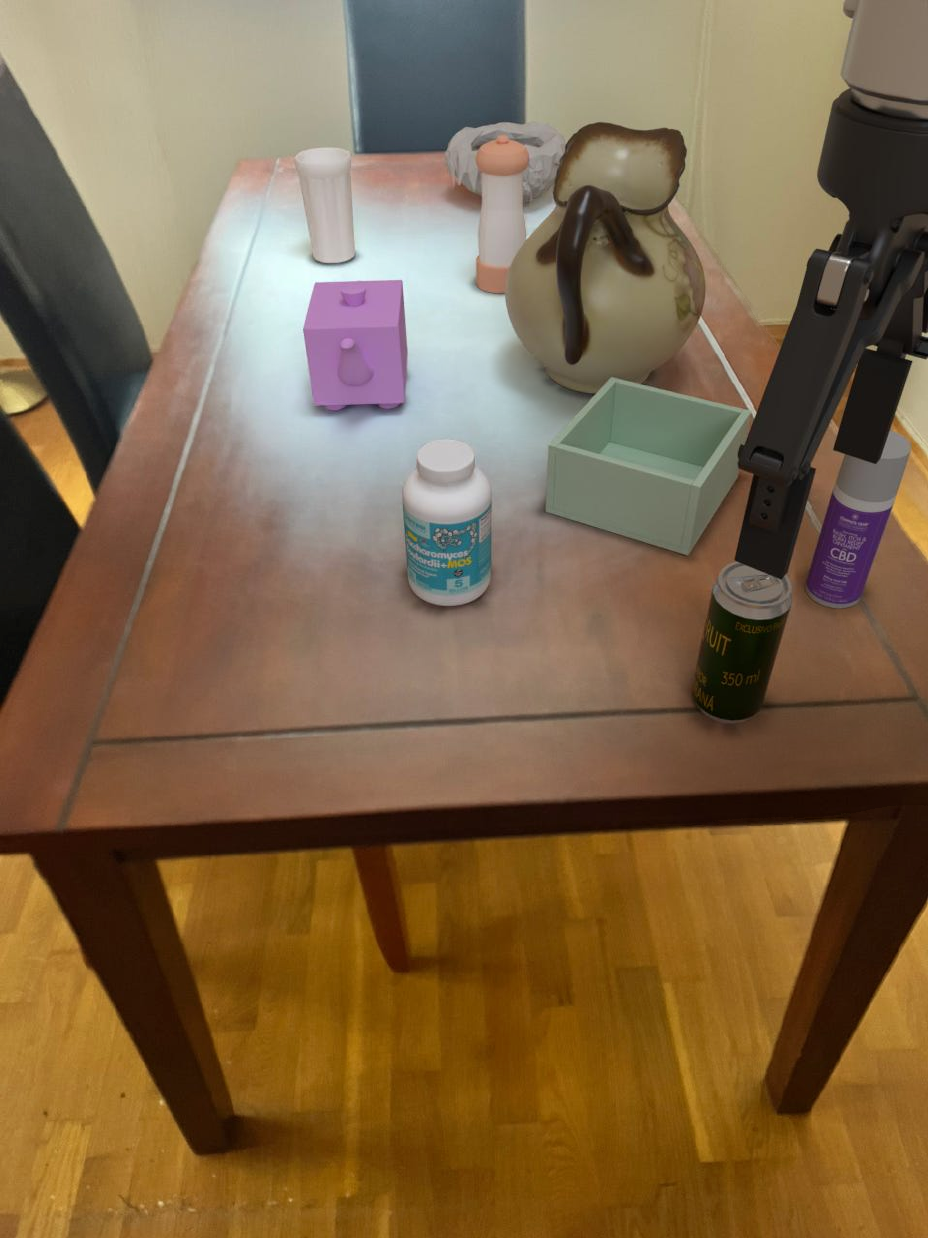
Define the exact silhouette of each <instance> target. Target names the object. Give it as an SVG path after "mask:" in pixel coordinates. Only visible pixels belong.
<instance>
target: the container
mask: <svg viewBox="0 0 928 1238" xmlns="http://www.w3.org/2000/svg"><path fill="white" fill-rule="evenodd" d="M911 451H912V445H911V442H910V441H909V440H908V438H906V436H904V435H902V434H901V433H899V432H896V431H894V430H891V429H890V431H889V434H888V437H887V440H886V443H885V446H884V449H883V452H882V455H881V458H880V460H879V461H878V462H877V464H873V463H870V462H867V461H864V460H861V459H858V458H855V457H852V456H849V455H846V454H844V456H843V459H842V461H841V464H840V468H839V470H838V473H837V477H836V480H835V483H834V485H833V488H832V491H831V495H830V499H829V501H828V505H827V508H826V512H825V514H824V515H825V516H824V518H823V523H822V526H821V529H820V532H819V534H818V535H819V536H818V539H817V543H816V546H815V549H814V552H813V556H812V560H811V563H810V567H809V570H808V573H807V575H806V580H805V584H804V590H805V592H806V594H807V595H808V597H809V598H810V599H811V600H813V601H814V602H815V603H817V604H818V605H822V606H824V607H828V608H832V609H847V608H851V607H853V606H855V605H857V604H858V603H859V601H860V599H861V598H862V595H863V592H864V589H865V585H866V584H867V581H868V578H869V575H870V572H871V569H872V566H873V564H874V561H875V559H876V556H877V553H878V550H879V547H880V544H881V541H882V538H883V535H884V532H885V530H886V527H887V524H888V522H889V519H890V516H891V513H892V511H893V508H894V504H895V502H896V498H897V495H898V493H899V489H900V486H901V482H902V479H903V477H904V474H905V470H906V467H907V465H908V460H909V457H910V454H911Z"/></svg>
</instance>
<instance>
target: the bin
mask: <svg viewBox="0 0 928 1238" xmlns="http://www.w3.org/2000/svg"><path fill="white" fill-rule="evenodd" d="M751 417H752V410H751V409H746V408H742V407H737V406H732V405H728V404H724V403H721V402H716V401H713V400H708V399H704V398H699V397H696V396H691V395H687V394H683V393H679V392H675V391H672V390H671V391H670V390H666V389H662V388H657V387H653V386H650V385H646V384H643V383H642V384H637V383H633V382H629V381H625V380H621V379H617V378H613V377H611V378H610V379H609V380H608V381H607V382H606V383H605V385H604V386H603V387H602V388H601V389H600V390H599V391H598V392H597V393H596V394H593V396H592V397H591V398H590V400H588V401H587V403H586V404H585V405H584V406H582V408H581V409H580V410H579V411H578V412H577V413H576V414H575V415H574V417H573V418H572V419H571V420H570V421H568V423H567V424H566V425H565V426H564V427H563V428H562V430H561V431H560V432H559V433H558V434H557V435H556V436H555V437H554V438H553V439H552V440H551V441H550V442H549V444H548V445H547V465H546V466H547V467H546V490H545V512H546V513H549V514H551V515H555V516H557V517H562V518H565V519H568V520H571V521H574V522H578V523H581V524H584V525H588V526H591V527H594V528H596V529H600V530H603V531H607V532H609V533H613V534H617V535H620V536H623V537H626V538H630V539H632V540H635V541H639V542H642V543H645V544H649V545H652V546H655V547H659V548H662V549H664V550H669V551H672V552H674V553H678V554H681V555H684V556H690V554H691V552H692V550H693V549H694V547H695V546H696V544H697V542H698V541H699V539H700V538H701V537H702V535H703V533H704V531H705V530H706V528H707V527H708V525H709V523H710V522H711V520H712V519H713V517H714V516H715V514H716V512H717V511H718V509H719V508H720V506H721V505H722V503H723V501H724V500H725V498H726V496H727V495H728V493H729V492H730V490H731V489H732V487H733V485H734V484H735V482H736V481H737V479H738V477H739V473H740V469H739V468H738V461H739V458H738V450H739V447H740V444H742V445H745V442H746V439H747V437H748V432H749V431H748V430H749V425H750V421H751Z"/></svg>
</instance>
